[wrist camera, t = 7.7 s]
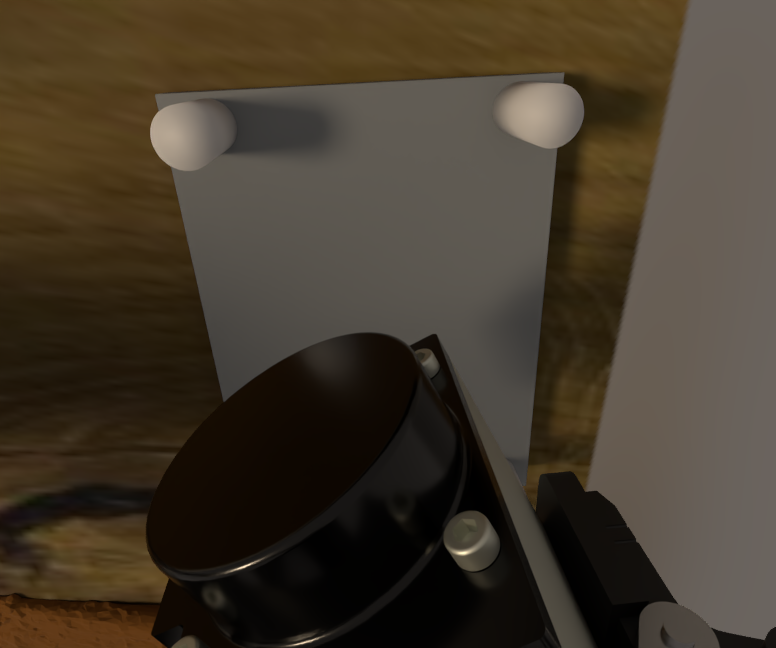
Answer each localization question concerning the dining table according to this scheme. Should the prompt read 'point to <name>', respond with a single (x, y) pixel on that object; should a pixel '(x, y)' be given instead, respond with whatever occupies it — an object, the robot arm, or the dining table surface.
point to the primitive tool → (75, 624)
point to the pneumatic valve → (354, 515)
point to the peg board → (376, 222)
